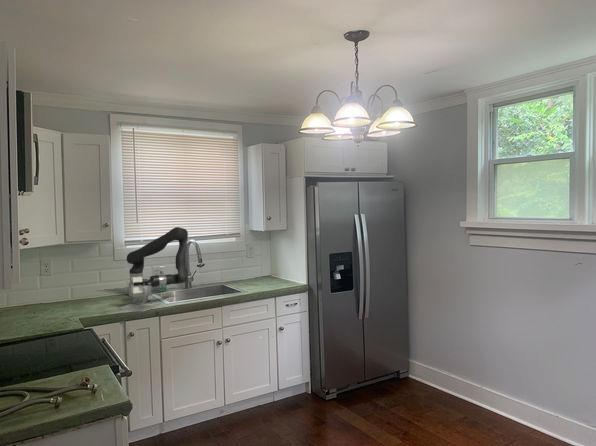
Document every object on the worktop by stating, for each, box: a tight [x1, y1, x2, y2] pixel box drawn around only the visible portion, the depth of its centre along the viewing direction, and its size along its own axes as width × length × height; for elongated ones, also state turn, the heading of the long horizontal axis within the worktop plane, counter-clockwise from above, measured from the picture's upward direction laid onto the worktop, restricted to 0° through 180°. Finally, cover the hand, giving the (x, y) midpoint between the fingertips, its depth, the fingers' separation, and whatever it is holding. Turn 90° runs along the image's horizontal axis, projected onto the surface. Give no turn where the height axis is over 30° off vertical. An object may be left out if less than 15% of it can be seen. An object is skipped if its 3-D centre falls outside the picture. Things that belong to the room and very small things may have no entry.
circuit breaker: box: [132, 285, 152, 305], centre depth 315 cm, size 8×14×15 cm, turn 174°
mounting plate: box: [118, 303, 157, 312], centre depth 295 cm, size 20×12×1 cm, turn 68°
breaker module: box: [129, 277, 143, 293], centre depth 294 cm, size 4×7×10 cm, turn 128°
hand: (132, 283), depth 292 cm, fingers closed on breaker module, 4 cm apart
